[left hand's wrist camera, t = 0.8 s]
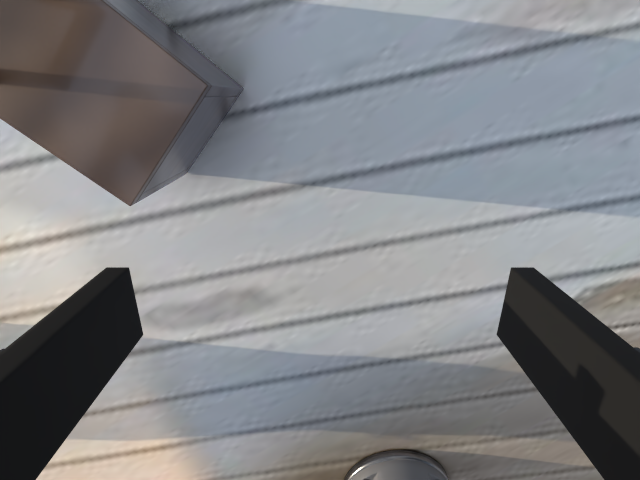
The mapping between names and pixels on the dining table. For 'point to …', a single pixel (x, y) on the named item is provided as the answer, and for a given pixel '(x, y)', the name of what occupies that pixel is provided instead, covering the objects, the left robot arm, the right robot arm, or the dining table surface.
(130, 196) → the lid
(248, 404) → the dining table surface
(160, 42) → the chest
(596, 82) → the dining table surface
